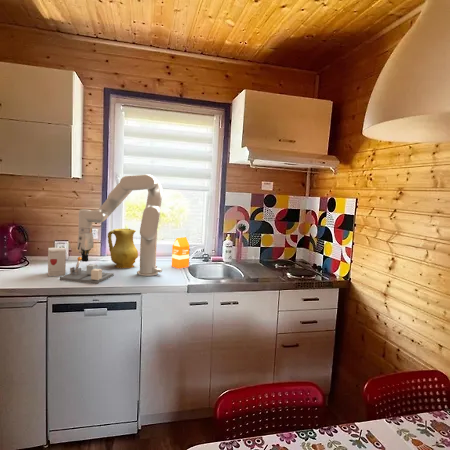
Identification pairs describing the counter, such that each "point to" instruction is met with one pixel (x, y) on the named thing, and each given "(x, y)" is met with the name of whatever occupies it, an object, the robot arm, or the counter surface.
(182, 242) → the orange juice
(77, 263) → the lever
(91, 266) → the white cube
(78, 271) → the panel
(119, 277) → the counter surface
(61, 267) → the supplement box
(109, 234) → the pitcher
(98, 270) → the cream slider
